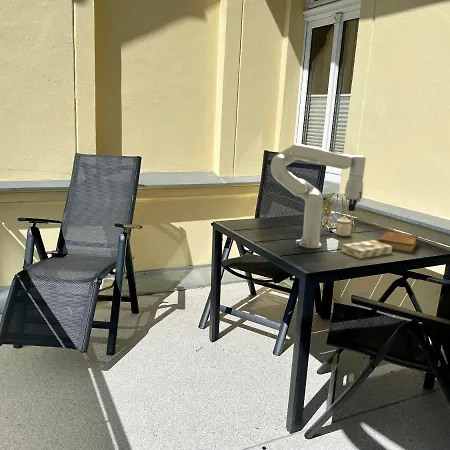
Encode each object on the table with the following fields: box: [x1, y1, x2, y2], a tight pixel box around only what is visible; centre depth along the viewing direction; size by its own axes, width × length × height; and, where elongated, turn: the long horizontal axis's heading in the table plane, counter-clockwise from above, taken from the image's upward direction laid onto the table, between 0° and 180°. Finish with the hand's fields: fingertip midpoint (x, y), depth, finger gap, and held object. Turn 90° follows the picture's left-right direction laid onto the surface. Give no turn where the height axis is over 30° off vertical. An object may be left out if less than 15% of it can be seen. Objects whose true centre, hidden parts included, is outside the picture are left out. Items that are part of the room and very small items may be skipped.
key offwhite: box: [361, 242, 374, 247], centre depth 246 cm, size 5×5×2 cm
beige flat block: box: [340, 239, 393, 259], centre depth 246 cm, size 24×14×4 cm, turn 118°
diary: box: [378, 231, 419, 254], centre depth 262 cm, size 23×19×6 cm
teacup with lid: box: [335, 216, 352, 237], centre depth 282 cm, size 12×9×12 cm
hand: (351, 210), depth 248 cm, fingers closed
